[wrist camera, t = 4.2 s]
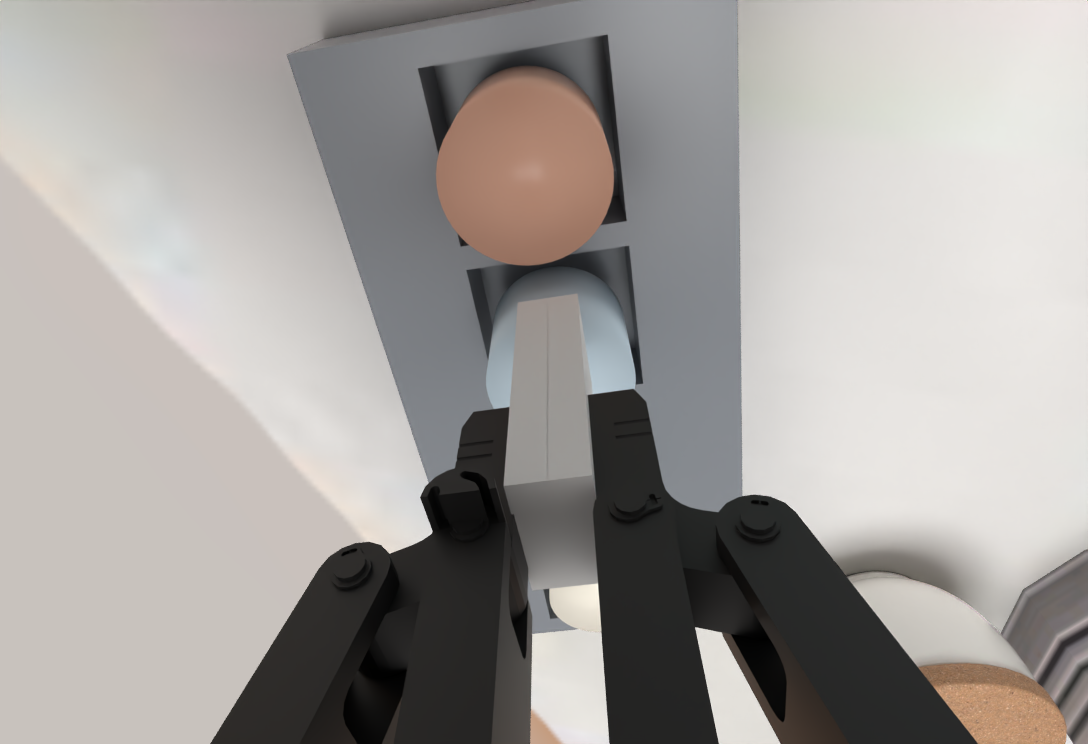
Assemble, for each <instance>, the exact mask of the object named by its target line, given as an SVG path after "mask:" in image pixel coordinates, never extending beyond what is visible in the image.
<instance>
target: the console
mask: <svg viewBox="0 0 1088 744" xmlns="http://www.w3.org/2000/svg"><path fill="white" fill-rule="evenodd" d="M287 57H288V60H289V63H290V66H291V69H292V72H293V75H294V78H295V81H296V84H297V87H298V90H299V93H300V96H301V99H302V102H303V105H304V108H305V111H306V114H307V117H308V120H309V123H310V126H311V129H312V132H313V135H314V138H315V141H316V144H317V147H318V150H319V153H320V156H321V159H322V162H323V165H324V168H325V171H326V174H327V177H328V180H329V183H330V186H331V189H332V192H333V195H334V198H335V201H336V204H337V207H338V210H339V213H340V216H341V219H342V222H343V226H344V229H345V232H346V235H347V238H348V241H349V244H350V247H351V250H352V253H353V256H354V259H355V262H356V265H357V268H358V271H359V274H360V277H361V280H362V283H363V286H364V289H365V292H366V295H367V298H368V301H369V304H370V307H371V310H372V313H373V316H374V319H375V322H376V325H377V328H378V331H379V334H380V337H381V340H382V343H383V346H384V349H385V352H386V355H387V358H388V361H389V364H390V367H391V370H392V373H393V376H394V379H395V382H396V385H397V388H398V391H399V394H400V397H401V400H402V403H403V406H404V409H405V412H406V415H407V418H408V421H409V424H410V427H411V430H412V434H413V437H414V440H415V443H416V446H417V449H418V452H419V455H420V458H421V461H422V464H423V467H424V470H425V473H426V476H427V479H428V482H429V483H430V482H431V481H432V480H433V479H434V478H435V477H436V476H438V475H440V474H442V473H444V472H445V471H447V470H451V469H454V468H455V465H456V461H457V453H458V448H459V441H460V435H461V429H462V427H463V425H464V424H465V423H466V421H467V420H468V419H469V417H470V416H471V414H472V413H473V412H476V411H483V410H491V409H494V408H493V406H492V404H491V402H490V399H489V396H488V393H487V388H486V373H487V366H488V359H489V352H490V345H491V338H492V331H493V324H494V317H495V312H496V309H497V306H498V303H499V301H500V299H501V298H502V296H503V294H504V293H505V292H506V290H507V289H508V288H509V287H510V286H511V285H512V284H513V283H514V282H516V281H517V280H518V279H520V278H521V277H523V276H524V275H526V274H528V273H530V272H533V271H536V270H539V269H542V268H547V267H556V266H563V267H572V268H577V269H581V270H584V271H586V272H589V273H591V274H593V275H595V276H596V277H598V278H600V279H601V280H602V281H603V282H605V283H606V284H607V285H608V286H609V287H610V288H611V289H612V291H613V292H614V293H615V295H616V296H617V298H618V300H619V302H620V304H621V307H622V310H623V315H624V319H625V324H626V329H627V334H628V339H629V344H630V348H631V353H632V358H633V363H634V368H635V374H636V384H635V391H636V392H637V393H638V394H639V395H640V396H641V397H642V398H643V399H644V400H645V401H646V403H647V407H648V412H649V417H650V422H651V427H652V432H653V437H654V442H655V447H656V451H657V456H658V461H659V466H660V471H661V476H662V481H663V484H664V486H665V489H666V491H667V492H668V493H669V494H670V495H671V497H673V498H674V499H675V500H677V501H678V502H679V503H681V504H684V505H686V506H688V507H691V508H695V509H700V510H706V511H713V512H719V511H720V510H721V508H722V507H723V506H724V505H725V504H726V503H727V502H729V501H731V500H734V499H736V498H738V497H742V416H741V315H740V215H739V114H738V13H737V0H534V1H529V2H523V3H518V4H512V5H507V6H501V7H496V8H491V9H485V10H480V11H474V12H469V13H464V14H458V15H453V16H447V17H442V18H437V19H431V20H426V21H420V22H415V23H409V24H404V25H399V26H393V27H388V28H382V29H377V30H372V31H366V32H361V33H355V34H350V35H345V36H339V37H334V38H328V39H323V40H321V41H318V42H316V43H313V44H311V45H309V46H306V47H304V48H301V49H299V50H297V51H294V52H292V53H289V54H287ZM524 65H527V66H539V67H545V68H548V69H551V70H554V71H557V72H559V73H561V74H563V75H565V76H566V77H568V78H569V79H571V80H572V81H574V82H575V83H576V84H577V85H578V86H579V87H580V88H582V90H583V91H584V92H585V93H586V94H587V96H588V97H589V98H590V100H591V101H592V103H593V105H594V106H595V108H596V111H597V113H598V115H599V118H600V121H601V124H602V128H603V131H604V134H605V137H606V141H607V144H608V147H609V151H610V154H611V157H612V163H613V169H614V186H613V194H612V198H611V203H610V206H609V208H608V211H607V214H606V216H605V218H604V220H603V221H602V223H601V225H600V226H599V228H598V229H597V231H596V232H595V233H594V234H593V235H592V237H591V238H590V239H589V240H588V241H587V242H586V243H585V244H583V245H582V246H581V247H580V248H579V249H577V250H575V251H574V252H572V253H571V254H569V255H567V256H565V257H563V258H561V259H558V260H555V261H553V262H549V263H545V264H540V265H529V266H528V265H514V264H507V263H504V262H500V261H497V260H494V259H492V258H490V257H487V256H485V255H484V254H482V253H480V252H478V251H477V250H475V249H474V248H473V247H471V246H470V245H469V244H467V243H466V242H465V241H464V240H463V239H462V238H461V237H460V236H459V235H458V233H457V232H456V231H455V230H454V228H453V227H452V225H451V224H450V222H449V221H448V219H447V217H446V215H445V213H444V211H443V209H442V206H441V203H440V200H439V196H438V191H437V184H436V168H437V160H438V155H439V151H440V148H441V145H442V142H443V140H444V138H445V136H446V134H447V132H448V130H449V128H450V127H451V125H452V123H453V121H454V119H455V117H456V115H457V114H458V112H459V110H460V108H461V106H462V104H463V102H464V101H465V99H466V98H467V96H468V95H469V94H470V92H471V91H472V90H473V89H474V88H475V87H476V86H477V85H478V84H479V83H480V82H482V81H483V80H484V79H486V78H487V77H489V76H491V75H492V74H494V73H496V72H498V71H501V70H503V69H507V68H511V67H515V66H524ZM528 600H529V603H530V607H531V612H532V634H535V633H545V632H555V631H565V630H575V629H577V628H574V627H572V626H570V625H568V624H566V623H565V622H563V621H562V620H561V619H560V618H558V617H557V615H556V614H555V613H554V611H553V610H552V608H551V605H550V599H549V589H542V590H533V591H532V588H531V585H530V581H529V577H528Z"/></svg>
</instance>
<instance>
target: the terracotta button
mask: <svg viewBox="0 0 1088 744" xmlns="http://www.w3.org/2000/svg"><path fill="white" fill-rule="evenodd" d="M436 184H437V191H438V196H439V200H440V203H441V206H442V209H443V211H444V213H445V215H446V217H447V219H448V221H449V222H450V224H451V225H452V227H453V228H454V230H455V231H456V232H457V233H458V235H459V236H460V237H461V238H462V239H463V240H464V241H465V242H466V243H467V244H469V245H470V246H471V247H473V248H474V249H475V250H477V251H478V252H480V253H482V254H484V255H485V256H487V257H490V258H492V259H494V260H497V261H500V262H504V263H507V264H514V265H528V266H529V265H540V264H545V263H549V262H553V261H555V260H558V259H561V258H563V257H565V256H567V255H569V254H571V253H572V252H574V251H575V250H577V249H579V248H580V247H581V246H582V245H583V244H585V243H586V242H587V241H588V240H589V239H590V238H591V237H592V235H593V234H594V233H595V232H596V231H597V229H598V228H599V226H600V225H601V223H602V221H603V220H604V218H605V216H606V214H607V211H608V208H609V206H610V203H611V198H612V194H613V186H614V169H613V163H612V157H611V154H610V151H609V147H608V144H607V141H606V137H605V134H604V131H603V128H602V124H601V121H600V118H599V115H598V113H597V111H596V108H595V106H594V105H593V103H592V101H591V100H590V98H589V97H588V96H587V94H586V93H585V92H584V91H583V90H582V88H580V87H579V86H578V85H577V84H576V83H575V82H574V81H572V80H571V79H569V78H568V77H566V76H565V75H563V74H561V73H559V72H557V71H554V70H551V69H548V68H545V67H539V66H527V65H524V66H515V67H511V68H507V69H503V70H501V71H498V72H496V73H494V74H492V75H491V76H489V77H487V78H486V79H484V80H483V81H482V82H480V83H479V84H478V85H477V86H476V87H475V88H474V89H473V90H472V91H471V92H470V94H469V95H468V96H467V98H466V99H465V101H464V102H463V104H462V106H461V108H460V110H459V112H458V114H457V115H456V117H455V119H454V121H453V123H452V125H451V127H450V128H449V130H448V132H447V134H446V136H445V138H444V140H443V142H442V145H441V148H440V151H439V155H438V160H437V168H436Z"/></svg>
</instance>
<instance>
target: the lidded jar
mask: <svg viewBox="0 0 1088 744" xmlns="http://www.w3.org/2000/svg"><path fill="white" fill-rule="evenodd" d="M847 578H848V579H849V580H850V582H851V583H852V584H853V585H854V587H855V588H856V589H857V591H858V592H859V593H860V594H861V596H862V597H863V598H864V599H865V601H866V602H867V603H868V605H869V606H870V607H871V608H872V610H873V611H874V612H875V613H876V615H877V616H878V617H879V618H880V620H881V621H882V622H883V624H884V625H885V626H886V627H887V629H888V630H889V631H890V632H891V634H892V635H893V636H894V637H895V639H896V640H897V641H898V643H899V644H900V645H901V646H902V648H903V649H904V650H905V651H906V653H907V654H908V655H909V657H910V658H911V659H912V660H913V662H914V663H915V664H916V665H917V667H918V668H919V669H920V670H921V672H922V673H923V674H924V676H925V677H926V678H927V679H928V681H929V682H930V683H931V684H932V686H933V687H934V688H935V689H936V691H937V692H938V693H939V695H940V696H941V697H942V698H943V700H944V701H945V702H946V703H947V705H948V706H949V707H950V709H951V710H952V711H953V712H954V714H955V715H956V716H957V717H958V719H959V720H960V721H961V722H962V724H963V725H964V726H965V728H966V729H967V730H968V731H969V733H970V734H971V735H972V736H973V738H974V739H975V740H976V741H977V743H978V744H1065V742H1066V733H1067V726H1066V722H1065V719H1064V716H1063V714H1062V713H1061V711H1060V710H1059V708H1058V707H1057V705H1056V704H1055V702H1054V701H1053V699H1052V698H1051V697H1050V695H1049V694H1048V692H1047V691H1046V690H1045V689H1044V688H1043V687H1042V686H1041V685H1039V684H1038V683H1037V681H1036V680H1035V678H1034V677H1033V675H1032V674H1031V672H1030V671H1029V669H1028V668H1027V666H1026V665H1025V664H1024V662H1023V661H1022V659H1021V658H1020V657H1019V655H1018V654H1017V653H1016V651H1015V650H1014V648H1013V647H1012V646H1011V645H1010V644H1009V643H1008V641H1007V640H1006V639H1005V638H1004V637H1003V636H1002V635H1001V633H1000V632H999V631H998V630H997V629H996V628H995V627H994V626H993V625H992V624H991V623H989V622H988V621H987V620H986V619H985V618H984V617H983V616H982V615H981V614H980V613H979V612H977V611H976V610H975V609H974V608H972V607H971V606H970V605H968V604H967V603H965V602H964V601H963V600H961V599H959V598H958V597H956V596H954V595H952V594H951V593H948V592H946V591H944V590H942V589H940V588H938V587H935V586H932V585H930V584H927V583H923V582H920V581H915V580H911V579H909V578H907V577H906V576H903V575H900V574H897V573H892V572H884V571H870V572H863V573H858V574H853V575H850V576H847Z"/></svg>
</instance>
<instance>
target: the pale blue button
mask: <svg viewBox="0 0 1088 744" xmlns="http://www.w3.org/2000/svg"><path fill="white" fill-rule="evenodd" d="M571 294H578V300H579V306H580V313H581V319H582V325H583V332H584V338H585V344H586V350H587V357H588V363H589V369H590V376H591V382H592V392H593V394H598V393H605V392H613V391H620V390H628V389H634V390H635V384H636V374H635V368H634V363H633V358H632V353H631V348H630V344H629V339H628V334H627V329H626V324H625V319H624V315H623V310H622V307H621V304H620V302H619V300H618V298H617V296H616V295H615V293H614V292H613V291H612V289H611V288H610V287H609V286H608V285H607V284H606V283H605V282H603V281H602V280H601V279H600V278H598V277H596V276H595V275H593V274H591V273H589V272H586V271H584V270H581V269H577V268H572V267H563V266H556V267H547V268H542V269H539V270H536V271H533V272H530V273H528V274H526V275H524V276H523V277H521V278H520V279H518V280H517V281H516V282H514V283H513V284H512V285H511V286H510V287H509V288H508V289H507V290H506V292H505V293H504V294H503V296H502V298H501V299H500V301H499V303H498V306H497V309H496V312H495V317H494V324H493V331H492V338H491V345H490V352H489V359H488V366H487V373H486V388H487V393H488V396H489V399H490V402H491V404H492V406H493V408H494V409H498V408H505V407H510V396H511V383H512V370H513V357H514V344H515V331H516V319H517V306H518V302H524V301H530V300H537V299H544V298H550V297H557V296H564V295H571Z"/></svg>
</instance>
